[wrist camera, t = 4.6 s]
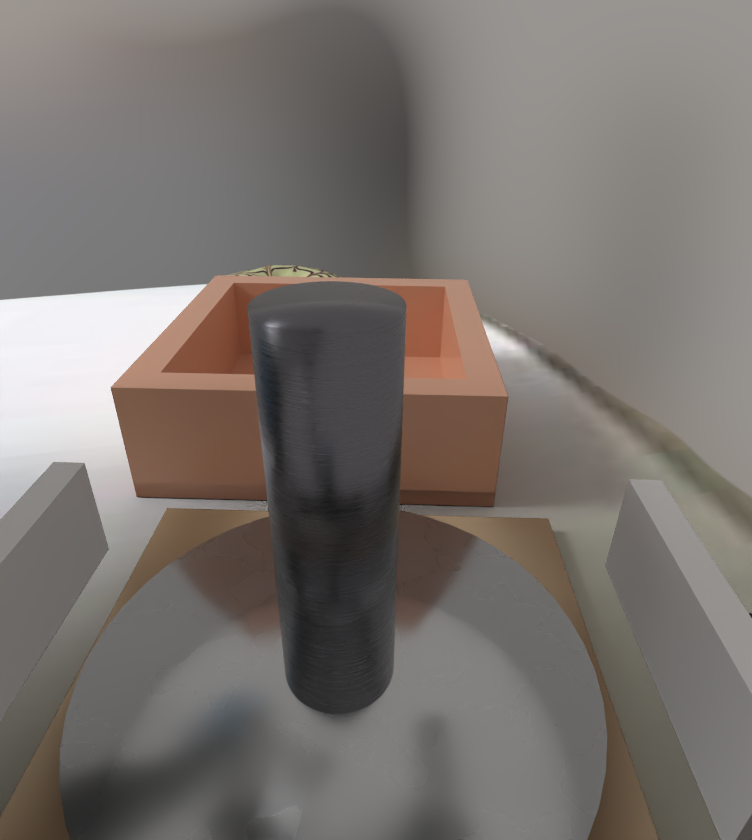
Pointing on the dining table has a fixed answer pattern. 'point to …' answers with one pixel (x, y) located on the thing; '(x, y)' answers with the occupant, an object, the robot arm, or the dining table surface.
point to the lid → (335, 640)
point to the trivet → (187, 528)
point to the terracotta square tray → (238, 412)
